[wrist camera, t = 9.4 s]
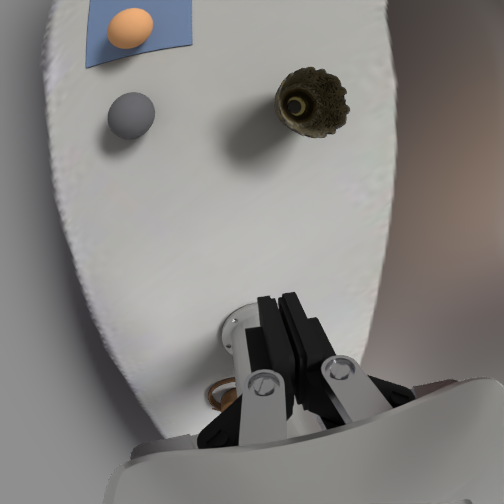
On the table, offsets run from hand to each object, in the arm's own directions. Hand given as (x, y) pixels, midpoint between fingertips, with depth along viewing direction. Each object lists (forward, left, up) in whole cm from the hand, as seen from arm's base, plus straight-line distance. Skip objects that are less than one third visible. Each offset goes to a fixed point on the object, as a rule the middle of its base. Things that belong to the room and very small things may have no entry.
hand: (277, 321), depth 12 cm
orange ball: (+18, +17, -22) cm, 34 cm away
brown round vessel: (+12, -4, -25) cm, 28 cm away
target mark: (+22, +18, -25) cm, 38 cm away
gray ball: (+7, +14, -22) cm, 27 cm away
